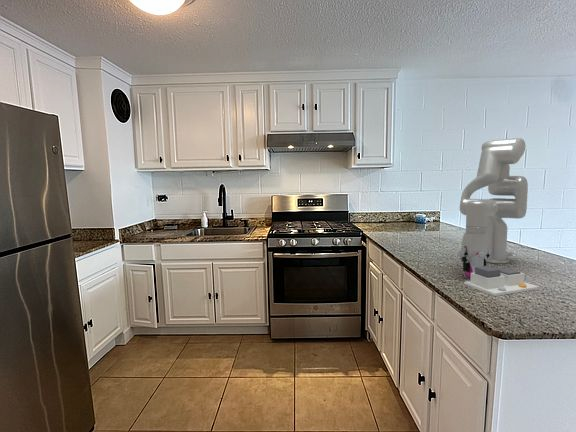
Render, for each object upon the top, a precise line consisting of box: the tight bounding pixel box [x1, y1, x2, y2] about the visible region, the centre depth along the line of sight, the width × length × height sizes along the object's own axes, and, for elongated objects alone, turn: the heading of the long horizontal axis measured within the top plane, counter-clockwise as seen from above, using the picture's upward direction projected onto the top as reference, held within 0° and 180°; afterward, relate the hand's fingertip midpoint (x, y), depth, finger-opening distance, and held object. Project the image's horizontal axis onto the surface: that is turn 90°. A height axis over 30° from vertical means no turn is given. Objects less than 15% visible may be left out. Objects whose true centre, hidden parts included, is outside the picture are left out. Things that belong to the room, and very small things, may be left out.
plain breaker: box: [475, 265, 501, 278], centre depth 125 cm, size 6×6×4 cm
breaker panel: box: [464, 271, 540, 297], centre depth 125 cm, size 21×14×5 cm, turn 105°
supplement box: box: [465, 252, 484, 279], centre depth 137 cm, size 6×6×12 cm
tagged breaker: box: [499, 267, 521, 275], centre depth 128 cm, size 6×6×4 cm
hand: (474, 269), depth 138 cm, fingers closed on supplement box, 7 cm apart
